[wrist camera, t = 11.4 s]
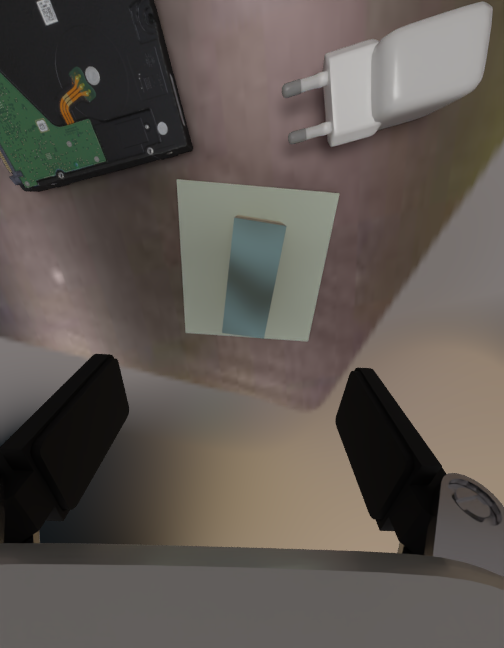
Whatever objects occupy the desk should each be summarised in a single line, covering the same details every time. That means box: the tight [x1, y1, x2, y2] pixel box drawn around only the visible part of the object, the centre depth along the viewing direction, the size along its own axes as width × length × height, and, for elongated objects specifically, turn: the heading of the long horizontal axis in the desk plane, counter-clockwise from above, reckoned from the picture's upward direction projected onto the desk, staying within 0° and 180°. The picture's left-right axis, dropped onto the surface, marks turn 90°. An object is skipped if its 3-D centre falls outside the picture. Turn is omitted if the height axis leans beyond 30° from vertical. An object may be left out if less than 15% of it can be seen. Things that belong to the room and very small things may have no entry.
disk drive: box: [0, 0, 193, 192], centre depth 18 cm, size 10×3×15 cm
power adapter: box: [282, 2, 493, 147], centre depth 16 cm, size 11×5×6 cm, turn 103°
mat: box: [177, 179, 340, 341], centre depth 24 cm, size 14×15×1 cm
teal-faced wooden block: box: [222, 215, 287, 339], centre depth 22 cm, size 10×4×4 cm, turn 172°
